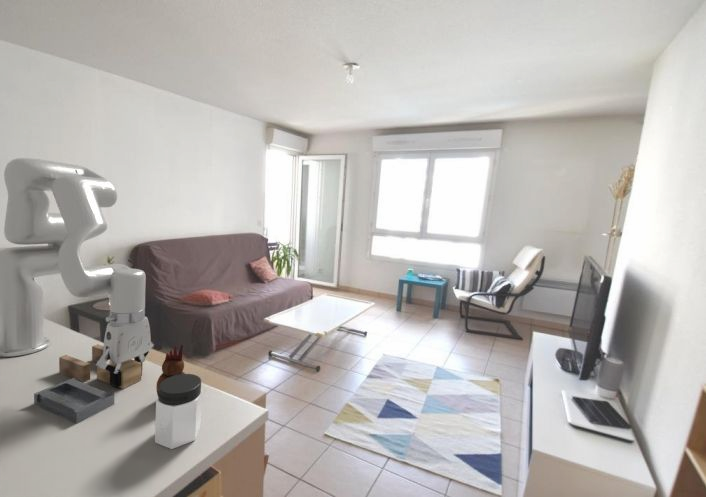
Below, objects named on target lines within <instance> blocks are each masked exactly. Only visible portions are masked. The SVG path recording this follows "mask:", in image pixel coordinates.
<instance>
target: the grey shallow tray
mask: <svg viewBox="0 0 706 497" xmlns="http://www.w3.org/2000/svg"><path fill="white" fill-rule="evenodd" d="M33 404H34V406H35V405H36V406H38V407H40V408H42V409H44V410H47V411H48V412H51V413H53V414H55V415H57V416H59V417H61V418H63V419H66V420H69V421H70V422H72V423H75V424H78V423H81V422H82V421H84V420H86V419H88V418H90V417H92V416H94V415H96V414H98V413H99V412H102V411H104V410H105V409H108V408H109V407H111V406H113V405H115V393H113V392H111V393H109V392H107V391H104V390H102V389H98V388H97V387H94V386H93V385H89V384H87V383H85V382H82V381H79V380H77V379H75V378H72V377H71V378H70V379H67V380H65V381H63V382H61V383H57V384H54V385H52V386H50V387H48V388H44V389H43V390H40V391H37V392H35V393H34V394H33Z"/></svg>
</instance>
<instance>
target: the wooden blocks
mask: <svg viewBox="0 0 706 497" xmlns="http://www.w3.org/2000/svg"><path fill="white" fill-rule="evenodd" d="M103 347H104V345H101V344H97V343H96V344H95V345H91V361H92V362H95V363H97V361H99V359H100V358H101V357H102V355H103ZM58 360H59V361H58V362H59V364H58V367H59V368H58V369H59V370H58V371H59V373H60V374H62V375H63V376H64V375H65V376H67V377H70V378H71V379H72V378H75V379H76V381H79V382H82V383H85V382H88V381H89V380H91V363H90V362H87V361H84V360H82V359H79V358H76V357H74V356H70V355H68V354H65V355H62V356H59V359H58Z"/></svg>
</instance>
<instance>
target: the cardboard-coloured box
mask: <svg viewBox="0 0 706 497" xmlns="http://www.w3.org/2000/svg"><path fill="white" fill-rule="evenodd" d="M97 362H98V361H97ZM97 362H96V363H97ZM109 362H110V360H108V361H107V362H106V363H107V364H108V365H109ZM114 367H115V364H114ZM141 369H142V370H143V365H142V363H140V362H137V361H134V359H133V358H132V359H130V360H128V361H125V362H122V363H121V366H120V370H119V372H121V386H120V387H118V388H120V389H123V390H124V389H126V388H128V387H129V386H132V385H134V384H136V383H138V382H140V381H142V376H141ZM96 379H97V380H99V381H102V382H104V383H107V384H110V372H109V371H107V370H105V369H103V368H99V367H97V366H96ZM110 385H111V384H110Z"/></svg>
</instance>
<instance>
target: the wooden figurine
mask: <svg viewBox="0 0 706 497" xmlns="http://www.w3.org/2000/svg"><path fill="white" fill-rule="evenodd" d="M183 351H184V344H183V343H182V344H181V346H180V348H179V351H178V350H177V346H174V349H173V350H170V351H169V353H166V355H165V359H164V361H163V362H162V365H161V370H162V373H161V374H160V375H159V377H158V379H157V382H156V386H155V387H156V388H155V389H156V393H157V396H158V389H159V385H160V383H161V382H162V381H164V380H165V379H167V378H169V377H171V376H175V375H179V374H186V373H185V371H184V368H185V362H184V359H183Z"/></svg>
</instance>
